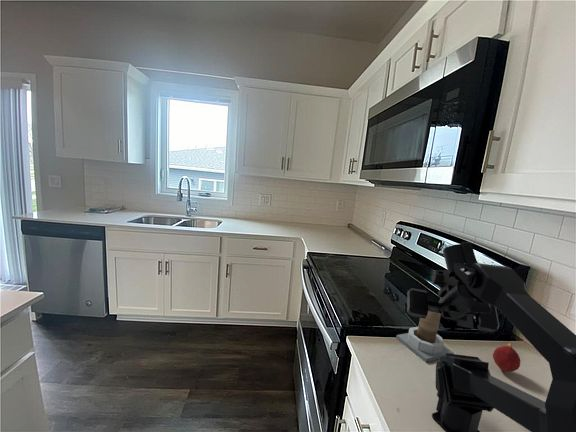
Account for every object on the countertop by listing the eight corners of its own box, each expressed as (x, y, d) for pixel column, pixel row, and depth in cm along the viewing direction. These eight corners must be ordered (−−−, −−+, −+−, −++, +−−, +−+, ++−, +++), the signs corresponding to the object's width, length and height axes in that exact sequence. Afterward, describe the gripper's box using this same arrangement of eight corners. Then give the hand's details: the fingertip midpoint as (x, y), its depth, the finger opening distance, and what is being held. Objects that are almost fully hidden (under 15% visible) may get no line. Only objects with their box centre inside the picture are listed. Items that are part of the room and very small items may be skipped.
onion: (522, 380, 72) (530, 352, 71) (500, 377, 72) (507, 350, 71) (505, 364, 78) (512, 339, 77) (485, 362, 78) (491, 336, 77)
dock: (453, 355, 79) (455, 344, 79) (425, 362, 75) (428, 350, 75) (421, 333, 89) (424, 323, 89) (396, 337, 85) (398, 327, 84)
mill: (436, 350, 79) (446, 307, 77) (418, 347, 80) (427, 304, 78) (430, 340, 84) (439, 299, 82) (413, 337, 85) (421, 297, 82)
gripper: (505, 272, 61) (473, 297, 74) (416, 257, 65) (400, 283, 78) (516, 322, 55) (479, 340, 68) (417, 302, 59) (399, 323, 72)
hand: (438, 319), depth 71 cm, fingers open, 9 cm apart
